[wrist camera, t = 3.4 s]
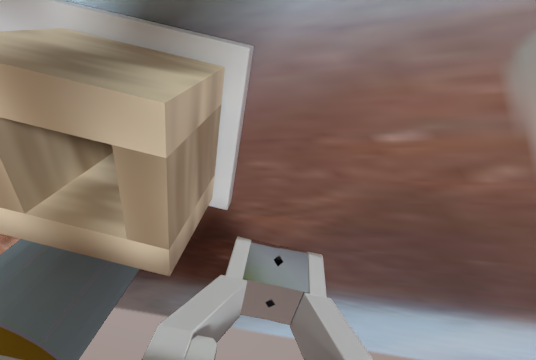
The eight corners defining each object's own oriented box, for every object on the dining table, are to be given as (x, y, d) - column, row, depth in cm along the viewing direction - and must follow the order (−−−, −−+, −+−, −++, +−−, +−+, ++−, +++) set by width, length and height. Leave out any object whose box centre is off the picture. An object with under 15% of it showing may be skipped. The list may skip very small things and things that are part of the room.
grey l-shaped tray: (254, 45, 13) (229, 59, 9) (231, 201, 18) (210, 249, 15) (-94, -37, 13) (-257, -58, 9) (-13, 141, 19) (-96, 173, 15)
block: (224, 66, 12) (164, 102, 7) (212, 197, 17) (169, 276, 12) (62, 28, 12) (-107, 36, 7) (92, 168, 17) (-1, 233, 12)
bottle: (124, 260, 24) (-82, 530, 11) (60, 206, 21) (-302, 482, 9) (177, 237, 21) (-19, 559, 9) (111, 172, 18) (-314, 503, 6)
